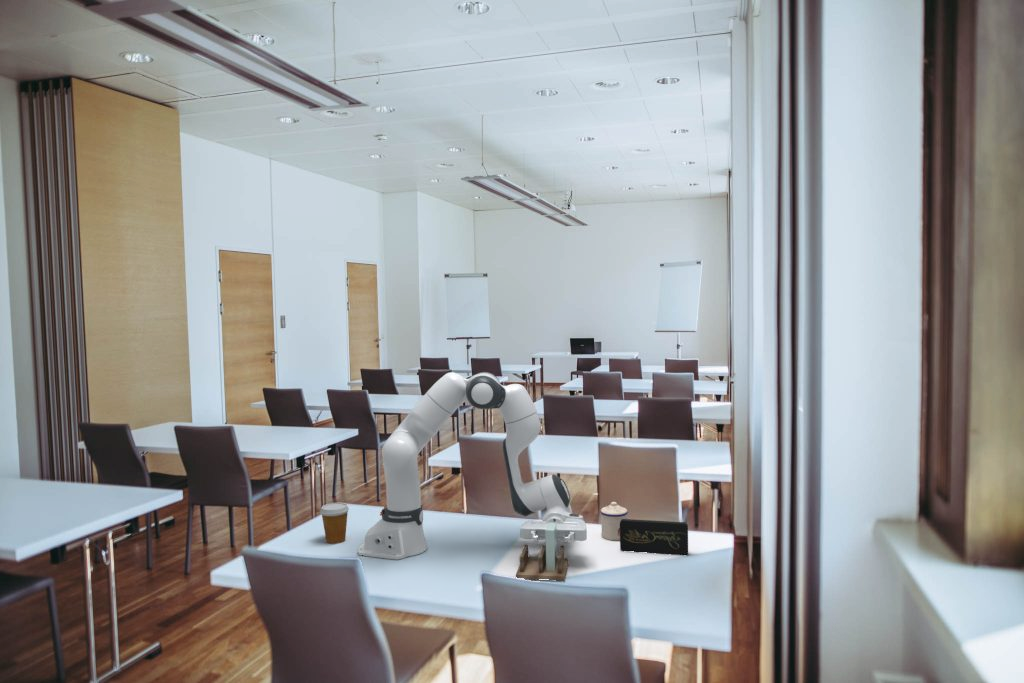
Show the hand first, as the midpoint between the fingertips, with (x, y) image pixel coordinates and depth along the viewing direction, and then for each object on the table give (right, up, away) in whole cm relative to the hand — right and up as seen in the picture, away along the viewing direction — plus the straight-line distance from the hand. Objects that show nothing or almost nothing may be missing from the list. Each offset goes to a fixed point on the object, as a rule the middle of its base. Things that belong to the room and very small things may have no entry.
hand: (551, 539), depth 197 cm
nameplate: (+33, -9, +14) cm, 37 cm away
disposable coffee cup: (-72, -10, +33) cm, 80 cm away
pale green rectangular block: (0, -8, +1) cm, 8 cm away
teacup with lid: (+24, -8, +31) cm, 40 cm away
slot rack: (-2, -10, +2) cm, 10 cm away
